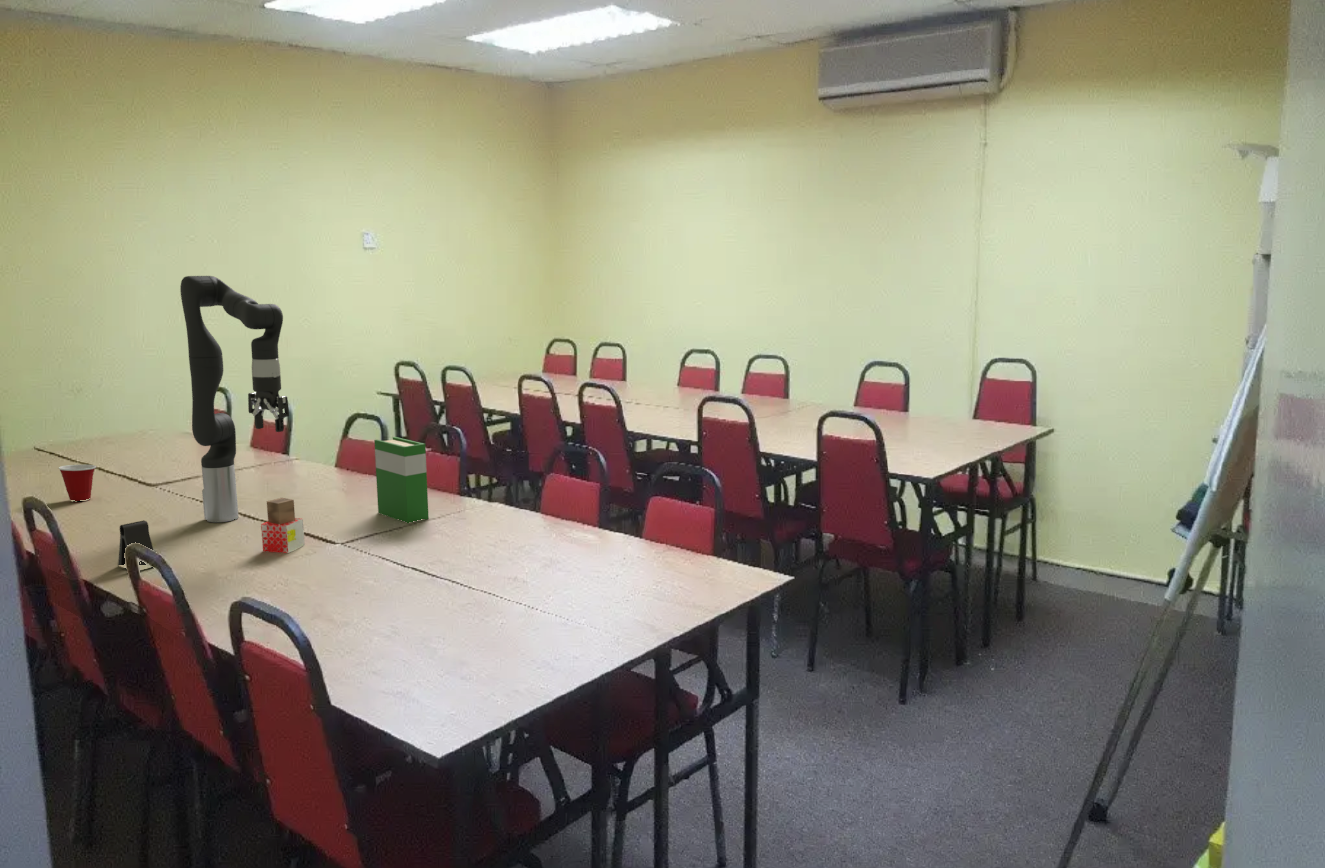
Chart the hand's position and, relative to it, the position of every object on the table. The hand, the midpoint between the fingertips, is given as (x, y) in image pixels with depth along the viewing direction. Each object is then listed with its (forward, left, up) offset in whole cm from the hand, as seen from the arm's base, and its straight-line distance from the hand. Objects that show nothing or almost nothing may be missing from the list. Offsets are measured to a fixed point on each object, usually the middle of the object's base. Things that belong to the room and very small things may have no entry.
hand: (269, 430), depth 272 cm
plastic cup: (-93, -3, -32) cm, 98 cm away
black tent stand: (-8, -38, -32) cm, 50 cm away
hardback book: (+17, +34, -32) cm, 50 cm away
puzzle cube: (+12, -8, -32) cm, 35 cm away
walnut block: (+12, -8, -24) cm, 28 cm away
